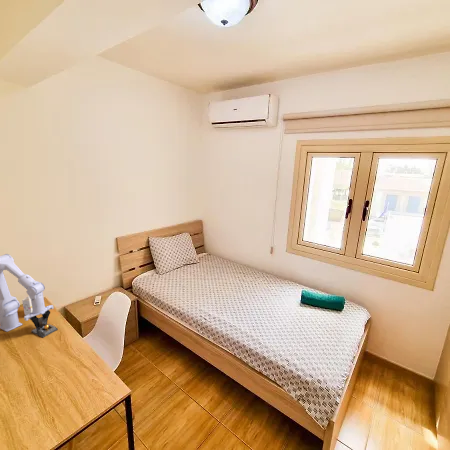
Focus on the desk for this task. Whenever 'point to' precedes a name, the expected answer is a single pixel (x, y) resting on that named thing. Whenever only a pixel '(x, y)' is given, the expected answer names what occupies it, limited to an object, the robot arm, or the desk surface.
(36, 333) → the frame
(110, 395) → the desk surface
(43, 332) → the link
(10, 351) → the desk surface
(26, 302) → the ink cartridge box
